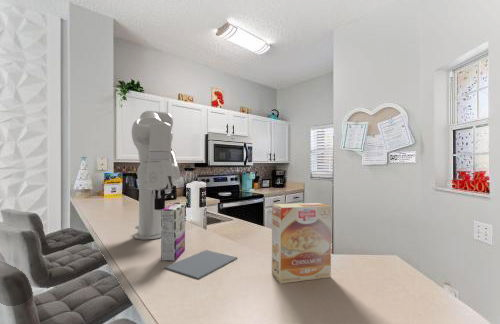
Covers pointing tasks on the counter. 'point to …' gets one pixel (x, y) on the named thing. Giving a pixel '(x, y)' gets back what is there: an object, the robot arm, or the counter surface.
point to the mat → (201, 264)
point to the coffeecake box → (301, 241)
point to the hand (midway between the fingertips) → (159, 209)
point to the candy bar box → (172, 232)
